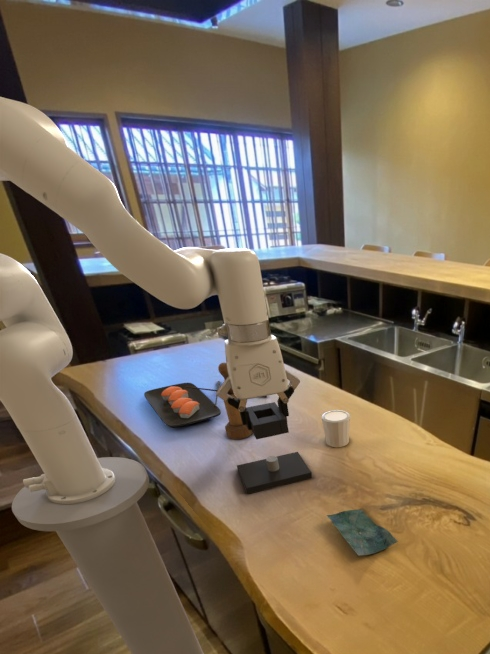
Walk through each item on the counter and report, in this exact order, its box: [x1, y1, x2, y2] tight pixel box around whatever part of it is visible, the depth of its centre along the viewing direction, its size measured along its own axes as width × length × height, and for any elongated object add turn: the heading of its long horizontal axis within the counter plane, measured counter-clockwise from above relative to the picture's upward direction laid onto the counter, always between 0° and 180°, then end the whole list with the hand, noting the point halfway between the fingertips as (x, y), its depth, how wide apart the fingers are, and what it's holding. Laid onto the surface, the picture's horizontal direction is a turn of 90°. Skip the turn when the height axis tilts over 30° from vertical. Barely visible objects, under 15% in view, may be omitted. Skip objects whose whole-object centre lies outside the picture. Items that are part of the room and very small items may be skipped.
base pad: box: [236, 451, 313, 495], centre depth 92 cm, size 14×10×4 cm
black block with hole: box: [246, 401, 290, 440], centre depth 86 cm, size 6×9×3 cm
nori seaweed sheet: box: [326, 508, 399, 557], centre depth 77 cm, size 13×8×2 cm, turn 32°
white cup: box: [321, 409, 351, 448], centre depth 103 cm, size 7×7×7 cm
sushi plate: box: [143, 380, 268, 428], centre depth 123 cm, size 29×30×4 cm
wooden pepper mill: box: [217, 362, 253, 440], centre depth 103 cm, size 7×6×18 cm
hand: (266, 422), depth 86 cm, fingers closed on black block with hole, 6 cm apart
